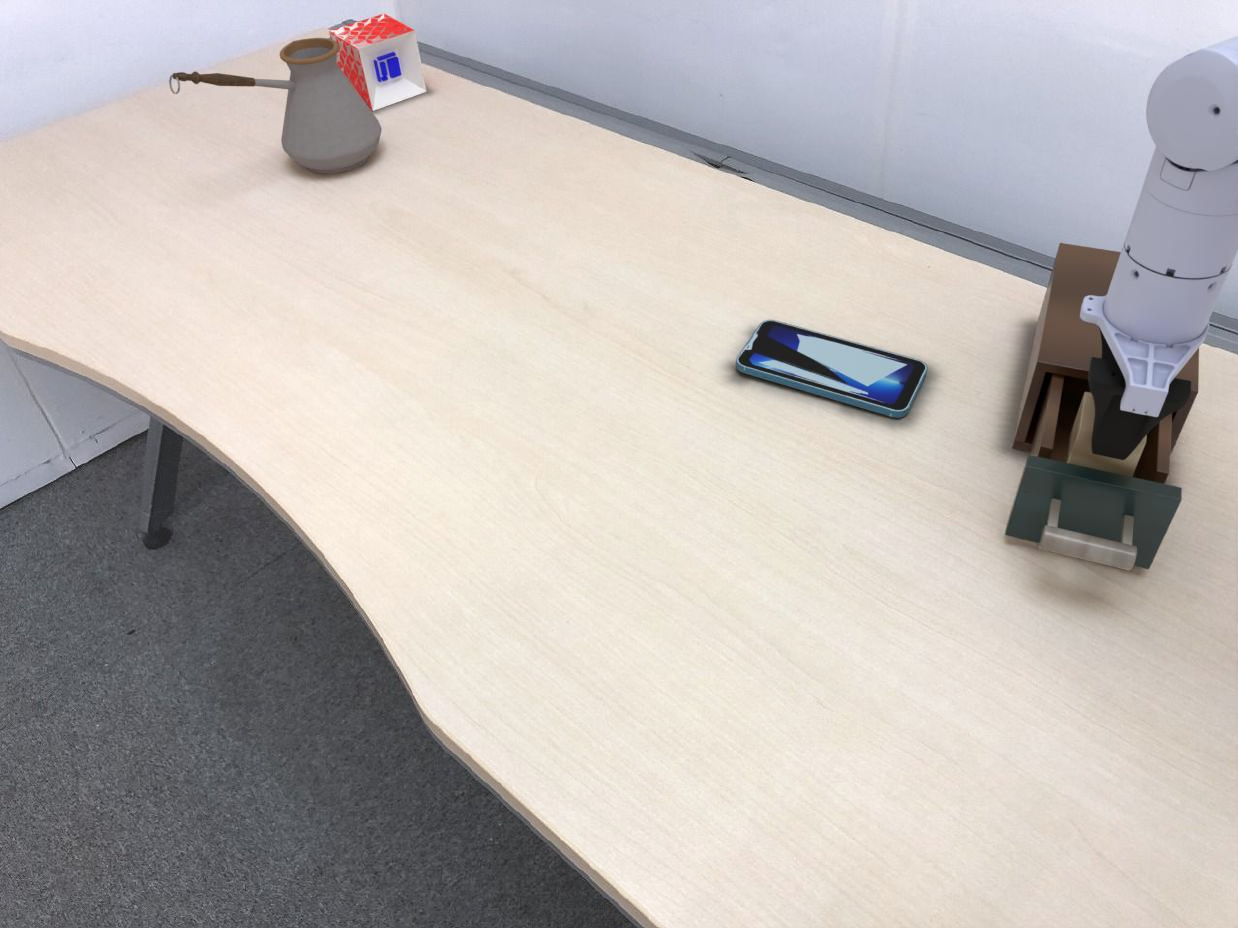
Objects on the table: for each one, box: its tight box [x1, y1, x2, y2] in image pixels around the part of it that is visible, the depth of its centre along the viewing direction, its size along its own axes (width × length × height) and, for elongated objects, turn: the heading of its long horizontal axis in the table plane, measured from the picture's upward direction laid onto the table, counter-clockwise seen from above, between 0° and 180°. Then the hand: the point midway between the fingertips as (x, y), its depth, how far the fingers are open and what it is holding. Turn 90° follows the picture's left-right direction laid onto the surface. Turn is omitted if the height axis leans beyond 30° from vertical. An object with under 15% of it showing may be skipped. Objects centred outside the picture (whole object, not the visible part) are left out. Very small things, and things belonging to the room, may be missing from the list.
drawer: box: [1004, 372, 1183, 571], centre depth 72 cm, size 20×9×7 cm, turn 158°
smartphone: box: [735, 319, 929, 418], centre depth 87 cm, size 7×1×15 cm
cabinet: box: [1011, 242, 1200, 456], centre depth 81 cm, size 17×11×9 cm, turn 158°
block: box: [1066, 392, 1147, 477], centre depth 69 cm, size 4×4×4 cm
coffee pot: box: [168, 37, 383, 175], centre depth 113 cm, size 21×12×15 cm, turn 131°
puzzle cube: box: [328, 13, 428, 112], centre depth 131 cm, size 8×8×8 cm
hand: (1111, 428), depth 68 cm, fingers open, 4 cm apart
